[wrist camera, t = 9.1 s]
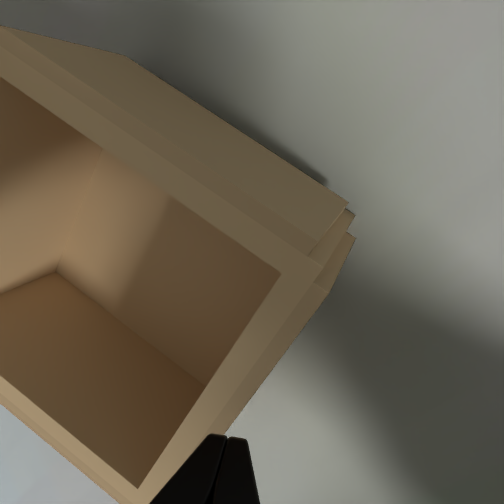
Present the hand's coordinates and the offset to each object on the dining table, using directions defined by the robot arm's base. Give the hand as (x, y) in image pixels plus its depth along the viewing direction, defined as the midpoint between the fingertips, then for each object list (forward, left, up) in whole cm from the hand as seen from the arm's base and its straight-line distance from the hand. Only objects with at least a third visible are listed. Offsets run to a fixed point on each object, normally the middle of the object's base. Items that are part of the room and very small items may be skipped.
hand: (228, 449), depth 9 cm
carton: (+1, +7, -10) cm, 12 cm away
